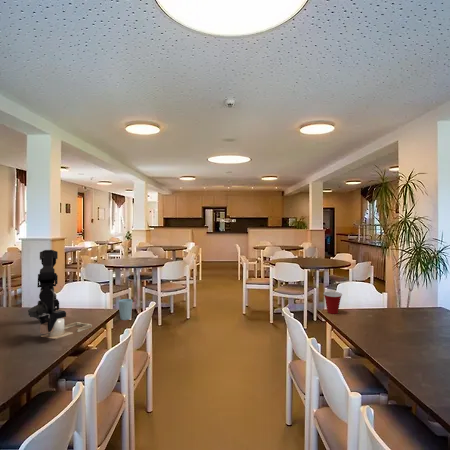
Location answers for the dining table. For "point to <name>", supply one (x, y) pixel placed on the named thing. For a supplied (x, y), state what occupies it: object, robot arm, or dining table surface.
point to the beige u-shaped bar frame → (84, 325)
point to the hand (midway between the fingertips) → (47, 331)
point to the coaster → (57, 336)
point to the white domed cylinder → (56, 330)
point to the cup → (125, 308)
